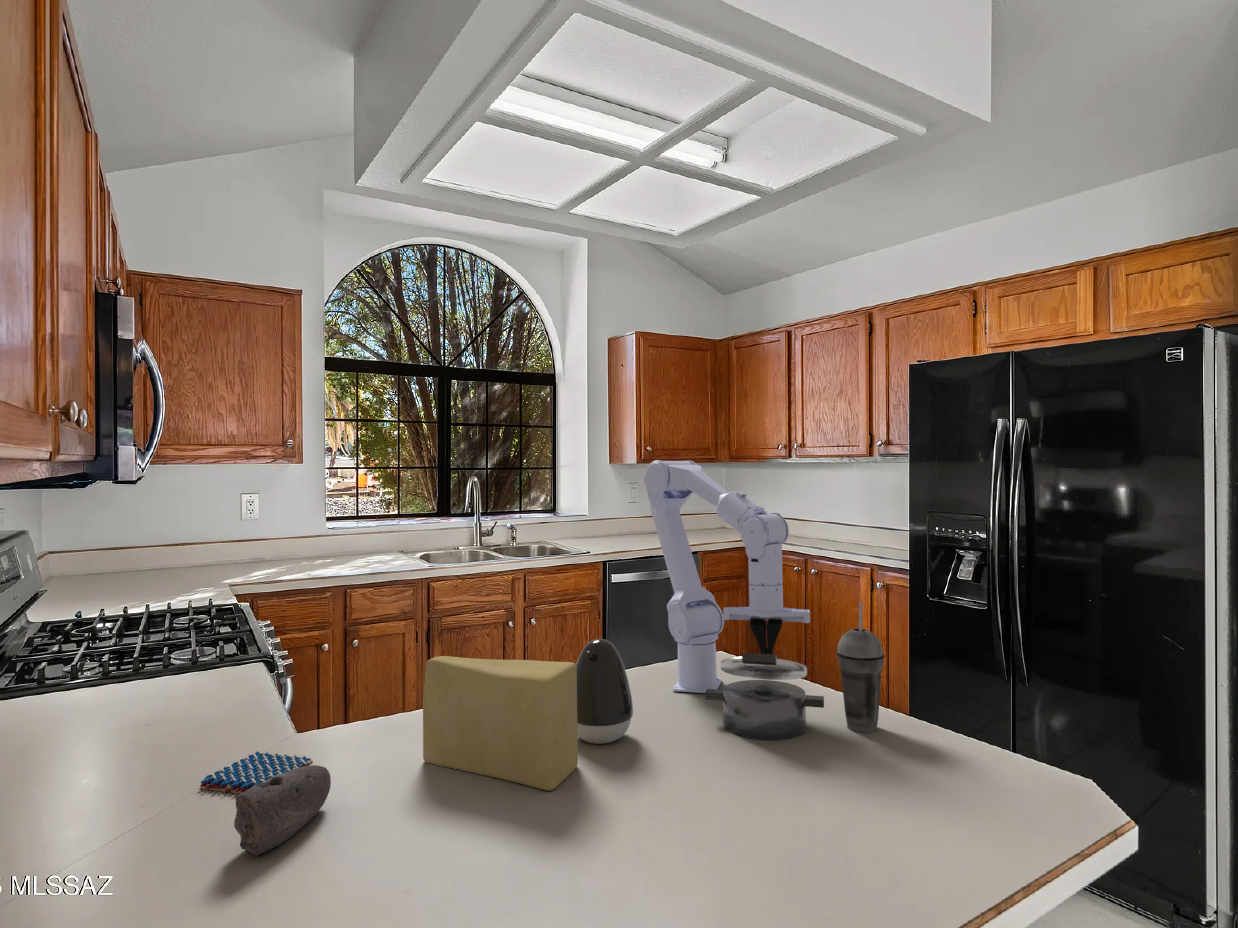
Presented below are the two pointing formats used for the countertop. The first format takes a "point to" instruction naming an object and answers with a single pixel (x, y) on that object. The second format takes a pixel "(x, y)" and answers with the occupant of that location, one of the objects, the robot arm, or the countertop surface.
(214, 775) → the woven mat
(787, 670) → the cooker lid
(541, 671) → the cheese
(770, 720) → the cooker pot
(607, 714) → the black white egg shape
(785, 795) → the countertop surface
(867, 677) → the beverage cup
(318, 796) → the perforated stone tool
